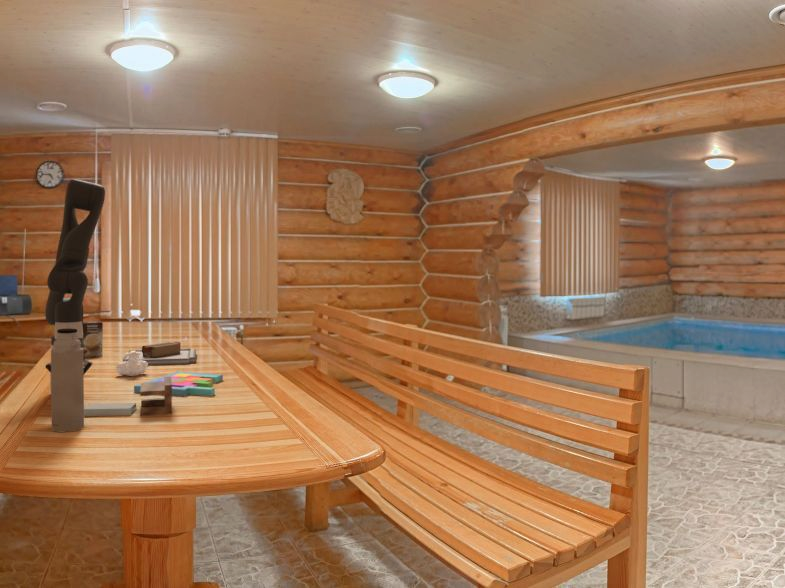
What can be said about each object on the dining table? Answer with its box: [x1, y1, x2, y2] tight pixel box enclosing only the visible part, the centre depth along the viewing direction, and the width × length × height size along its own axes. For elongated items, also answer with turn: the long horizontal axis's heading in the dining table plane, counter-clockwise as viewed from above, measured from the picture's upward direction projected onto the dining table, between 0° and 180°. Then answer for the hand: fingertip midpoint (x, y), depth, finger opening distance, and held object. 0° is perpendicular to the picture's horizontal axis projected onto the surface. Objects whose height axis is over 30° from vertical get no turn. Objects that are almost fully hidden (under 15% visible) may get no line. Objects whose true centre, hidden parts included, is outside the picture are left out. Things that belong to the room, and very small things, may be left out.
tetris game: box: [133, 371, 224, 397], centre depth 225 cm, size 28×3×28 cm
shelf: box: [139, 377, 173, 416], centre depth 191 cm, size 9×13×9 cm
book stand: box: [122, 341, 197, 366], centre depth 280 cm, size 30×30×8 cm
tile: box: [84, 402, 137, 417], centre depth 187 cm, size 14×7×2 cm, turn 100°
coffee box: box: [83, 320, 104, 358], centre depth 283 cm, size 9×6×16 cm
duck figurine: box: [115, 351, 149, 377], centre depth 242 cm, size 12×8×11 cm
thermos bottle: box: [50, 329, 85, 432], centre depth 168 cm, size 8×8×28 cm
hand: (69, 393), depth 182 cm, fingers closed
